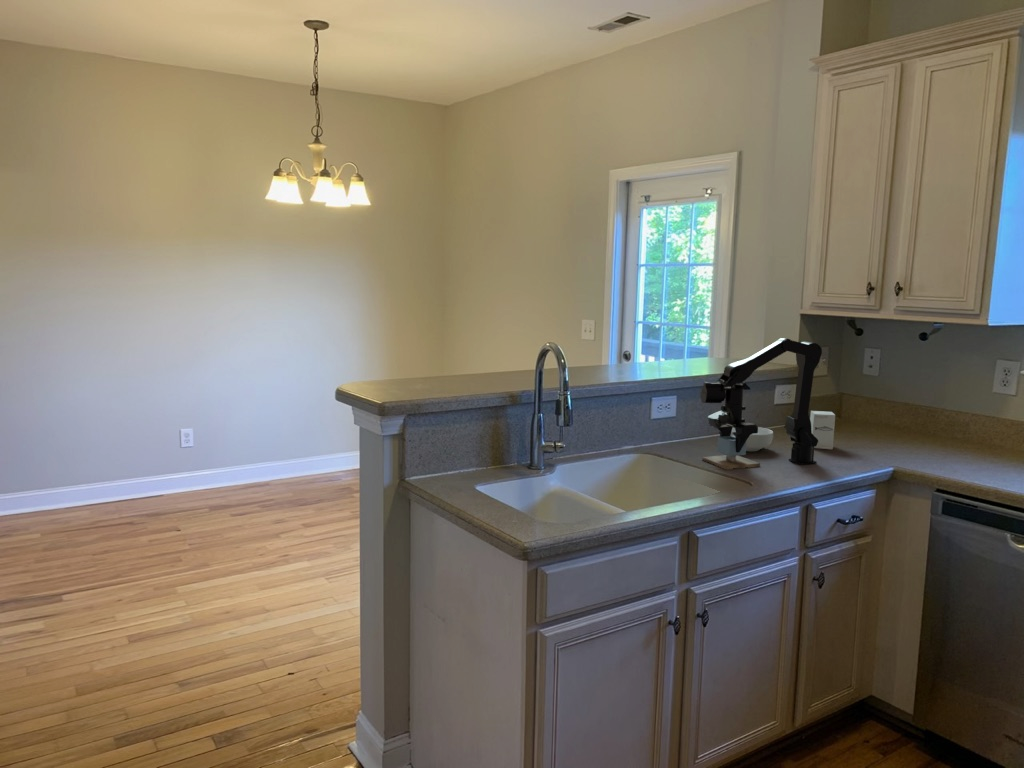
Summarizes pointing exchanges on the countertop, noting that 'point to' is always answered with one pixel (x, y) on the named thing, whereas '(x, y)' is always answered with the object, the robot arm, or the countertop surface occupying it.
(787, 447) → the countertop surface
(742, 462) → the wooden peg base
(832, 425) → the supplement box
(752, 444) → the cereal bowl
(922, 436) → the countertop surface
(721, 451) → the blue-grey square socket block
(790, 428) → the robot arm
